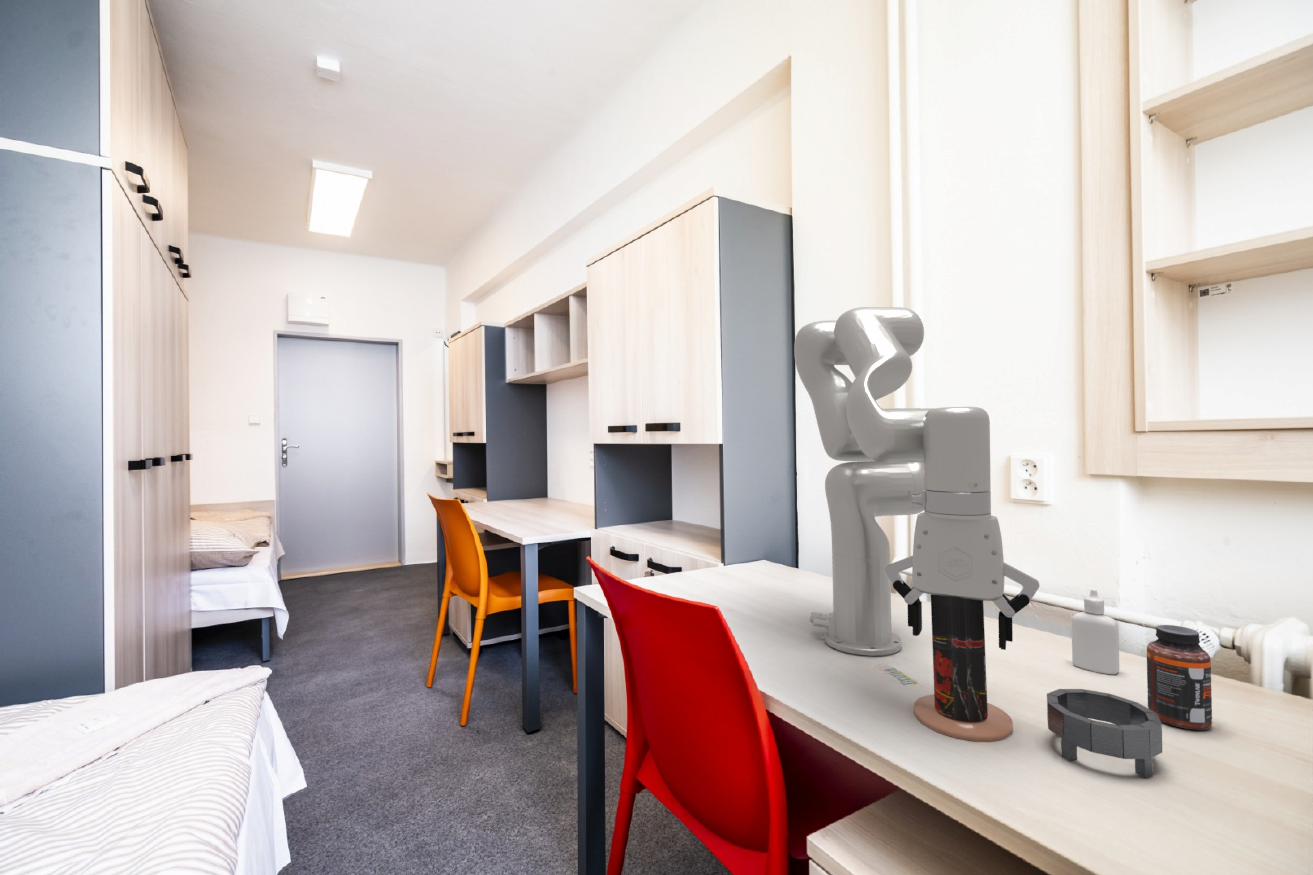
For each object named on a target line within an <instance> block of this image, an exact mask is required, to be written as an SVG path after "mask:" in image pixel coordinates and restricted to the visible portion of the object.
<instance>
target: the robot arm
mask: <svg viewBox="0 0 1313 875" xmlns="http://www.w3.org/2000/svg"><path fill="white" fill-rule="evenodd" d="M924 337H925V328H924V323H923V321H922V319H921V317H920V316H919V314H917V313H916V312H915V311H914V310H912V309H911V308H907V307H897V306H896V307H895V306H894V307H892V306H891V307H890V306H887V307H885V306H884V307H879V306H878V307H877V306H865V307H862V306H861V307H855V308H851V309H849V310H847V311H844V313H842V314H841V315H840V316H839V317H838V318H837V319H834V320H833V319H832V320H820V321H813V322H810V323H807V324H805V325H804V326H802V327H801V328H800V329H799V330H798V331H797V333H796V336H795V340H794V344H793V345H794V347H793V349H794V350H793V352H794V354H793V356H794V361H795V368H796V370H797V373H798V376H799V378H800V381H801V383H802V384H803V386H804V389H805V390H806V392H807V394H808V396H809V397H810V401H811V403H812V406H813V410H814V415H815V418H816V424H817V427H818V431H819V435H820V439H821V440H820V441H821V442H822V447H823V449H824V451H825V453H826V454H827V456H828V457H829V458H831V459H832V460H835V461H839V462H841V461H842V462H843V463H838V464H837V465H835V466H833V467H832V468H831V469H830V470H829V471H828V473H827V475H826V476H825V481H824V491H825V498H826V501H827V507H828V512H829V519H830V528H831V529H830V530H831V531H830V532H831V553H832V554H831V559H832V560H831V561H832V562H831V563H832V608H833V611H832V613H831V612H829V613H828V614H825V613H824V614H823V613H821V612H814V611H812V612H810V614H809V616H810V617H809V618H810V619H809V621H810V623H812V626H813V627H819V628H825V629H826V631H825V633H824V641H825V643H826V644H827V645H828V646H830V647H831V648H833V649H835V650H838V651H840V652H844V653H847V654H853V655H859V656H872V657H873V656H874V657H877V656H888V655H892V654H896V653H898V652H899V651H901V649H902V639H901V638H900V637H899V636H898V635H896V634H895V633H893V632H892V593H891V592H892V590H891V589H892V588H891V585H892V587H893V589H894V590H895V591H896V592H897V593H898V594H899V596H900V597H902V598H903V599H904V602H905V603H906V604H907V626H908V627H910V628H912V636H915V637H918V636H920V634H921V632H922V630H923V613H922V612H923V610H922V609H923V604H922V601H921V599H920V597H921V596H922V595H924V594H925V595H926V594H927V595H931V594H932V595H940V596H955V597H960V598H964V599H973V600H982V601H983V602H984V601H985V602H993V604H994V605H995V606H996V607H997V608H998V610H1000V611H998V619H997V620H998V648H999V649H1000V650H1007V649H1006V648H1007V642H1011V643H1012V642H1013V640H1014V637H1013V632H1014V631H1013V617H1014V616H1015V615H1016V614H1017V613H1019V612H1020V611H1021V610H1023V609H1024V608H1025V607H1027V606H1028V605H1029V604H1030V601H1031V600H1032V599H1034V598H1033V597H1034V596H1035V595H1036V593H1037V591H1038V590H1039V588H1040V581H1038V579H1036V578H1034V577H1033V576H1032V575H1031V576H1030V575H1029V574H1027V573H1025V572H1023V571H1021V570H1019V569H1017V568H1015V567H1014V566H1012V565H1010V564H1007V563H1006V562H1005V561H1004V559H1005V558H1004V549H1003V546H1004V545H1003V540H1002V539H1003V538H1002V531H1001V526H1000V523H999V519H998V517H997V516H994V515H992V501H991V500H992V497H991V494H992V492H991V491H992V490H991V488H992V487H991V425H990V424H991V422H990V420H991V419H990V415H989V413H988V412H987V410H985V409H984V408H981V407H978V406H949V407H946V406H945V407H937V408H932V407H931V408H927V407H926V408H925V407H924V408H920V407H914V408H913V407H911V408H908V407H907V408H905V407H904V408H903V407H902V408H900V407H899V408H898V407H897V408H894V407H893V408H883V407H881V406H880V405H879V403H877V401H878V400H880V399H881V398H884V397H886V396H888V395H890V394H892V393H894V392H896V391H897V390H898V389H900V388H901V387H903V386H904V384H905V383H906V382H907V381H909V378H910V376H911V374H912V372H913V362H912V358H911V357H912V356H913V355H915V354H916V353H917V352H918V351H919V349H920V348H921V346H922V345H923V342H924ZM835 366H848V367H849V369H850V371H851V373H852V374H853V376H854V380H853V381H851V380H850V378H849V377H848V376H846V374H844V373H843V372H841V371H840V370H838V369H837V368H836V367H835ZM916 514H917V516H916V522H915V526H914V534H913V547H912V555H910V556H907V557H905V558H903V559H900V560H898V561H895V562H893V563H891V549H890V548H891V547H890V546H891V545H890V541H889V539H888V536H887V535H886V533H885V532H884V530H883V528H881V526H880V525H879V523H878V522H877V520H876V517H886V516H889V517H891V516H911V515H916ZM908 569H912V570H911V571H912V572H911V573H912V578H911V579H912V585H913V587H912V588H911V587H910V586H909V585H908V584H907V583H906V581H904V580H903V578H902V577H901V575H900V572H904V571H906V570H908ZM1005 577H1006V578H1008V579H1010V580H1012V581H1014V582H1015V583H1017V584H1020V585H1021V586H1022V588H1021V591H1019V593H1018V594H1016V595H1015V597H1013V598H1011V599H1010V598H1009V597H1008V596H1007V594H1005Z"/></svg>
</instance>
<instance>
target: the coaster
mask: <svg viewBox="0 0 1313 875" xmlns="http://www.w3.org/2000/svg"><path fill="white" fill-rule="evenodd" d="M987 708H988V717H987V719H985V720H983V721H978V722H966V721H959V720H954V719H951V718H948V717H946V716H943V715H941V714H940V713H938V712H937V711H936V710H935V700H934V693H933V694H927V695H924V696H921V697H919V698H917V699H916V700H915V702H914V704H913V713H914V717H915V718H916V719H917V720H918V721H919V722H920V723H922V725H924V726H926V727H927V728H928V729H931V730H932V731H935V732H937V733H939V734H942V735H945V736H948V737H952V738H955V739H960V740H963V741H964V740H966V741H970V742H971V741H972V742H985V743H986V742H988V743H989V742H997V741H1003V740H1005V739H1008V738H1009V737H1010V736H1011V735H1012V734H1013V731H1014V723H1013V719H1012V716H1010V715H1009V714H1008V713H1007V712H1006V711H1004V710H1003V709H1001V708H1000V707H998V706H995V705H994V704H991V703H990V702H987Z"/></svg>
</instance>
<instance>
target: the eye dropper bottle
mask: <svg viewBox="0 0 1313 875" xmlns="http://www.w3.org/2000/svg"><path fill="white" fill-rule="evenodd" d="M1083 606H1084V607H1083V608H1084V609H1083V610H1084V611H1081V612H1077V613H1075V614H1073V615H1072V617H1071V653H1072V655H1071V656H1072V658H1071V659H1072V664H1073V665H1074V666H1075V667H1078V668H1079V669H1083V670H1085V671H1086V670H1087V671H1089V672H1094V673H1098V674H1106V675H1116V674H1118V673H1119V671H1120V639H1119V638H1120V637H1119V636H1120V633H1119V625H1118V622H1117V620H1115V619H1114V618H1112V617H1111V616H1108V615H1105V600H1104V599H1102V598H1100V596H1099V594H1098V591H1097V589H1094V588H1093V589H1090V592H1089V595H1088V596H1086V597H1084V598H1083Z"/></svg>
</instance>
